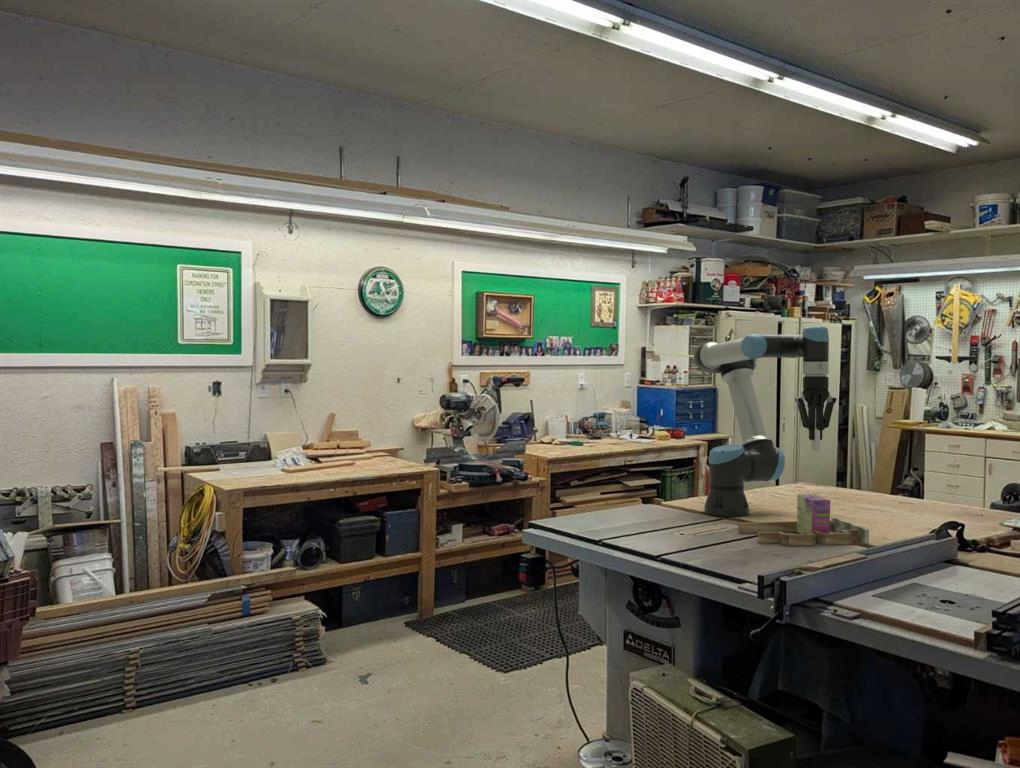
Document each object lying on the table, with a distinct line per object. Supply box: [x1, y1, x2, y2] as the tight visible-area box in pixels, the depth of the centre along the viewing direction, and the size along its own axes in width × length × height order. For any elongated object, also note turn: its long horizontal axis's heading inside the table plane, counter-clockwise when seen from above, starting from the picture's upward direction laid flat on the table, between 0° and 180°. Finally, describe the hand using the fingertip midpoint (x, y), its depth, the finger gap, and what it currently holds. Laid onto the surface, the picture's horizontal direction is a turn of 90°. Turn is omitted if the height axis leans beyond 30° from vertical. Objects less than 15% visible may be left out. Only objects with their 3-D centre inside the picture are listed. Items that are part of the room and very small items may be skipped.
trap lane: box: [737, 516, 870, 547], centre depth 228 cm, size 19×31×4 cm, turn 96°
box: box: [796, 493, 831, 534], centre depth 230 cm, size 10×6×12 cm, turn 2°
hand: (815, 450), depth 242 cm, fingers closed
